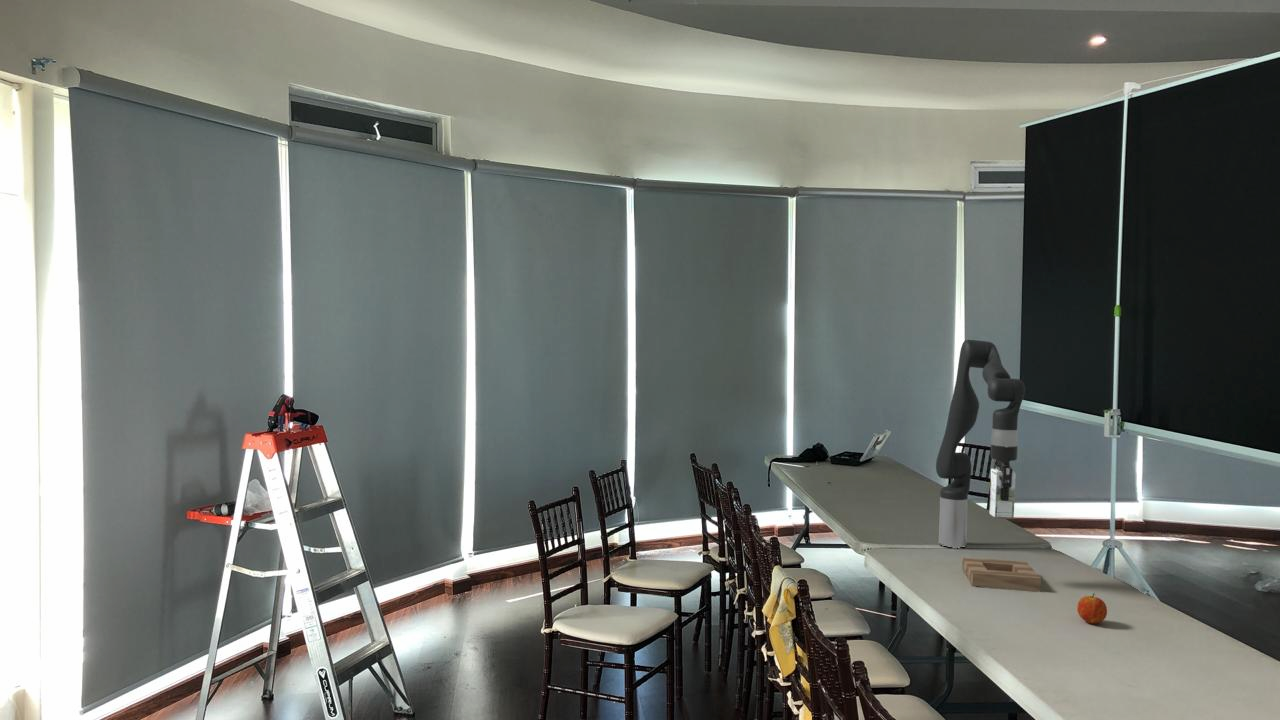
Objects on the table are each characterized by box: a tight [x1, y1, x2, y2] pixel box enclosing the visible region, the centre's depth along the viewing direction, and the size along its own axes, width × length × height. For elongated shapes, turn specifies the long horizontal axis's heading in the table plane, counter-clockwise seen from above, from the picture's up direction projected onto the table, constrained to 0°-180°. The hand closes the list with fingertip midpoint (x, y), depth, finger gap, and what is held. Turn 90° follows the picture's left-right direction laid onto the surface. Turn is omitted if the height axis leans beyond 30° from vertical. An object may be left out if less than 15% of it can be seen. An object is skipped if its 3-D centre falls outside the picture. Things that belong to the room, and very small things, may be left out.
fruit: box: [1076, 592, 1108, 625], centre depth 230 cm, size 7×7×8 cm
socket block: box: [961, 557, 1042, 592], centre depth 269 cm, size 19×19×4 cm
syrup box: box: [988, 468, 1017, 519], centre depth 268 cm, size 6×6×14 cm
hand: (1002, 498), depth 268 cm, fingers closed on syrup box, 6 cm apart
